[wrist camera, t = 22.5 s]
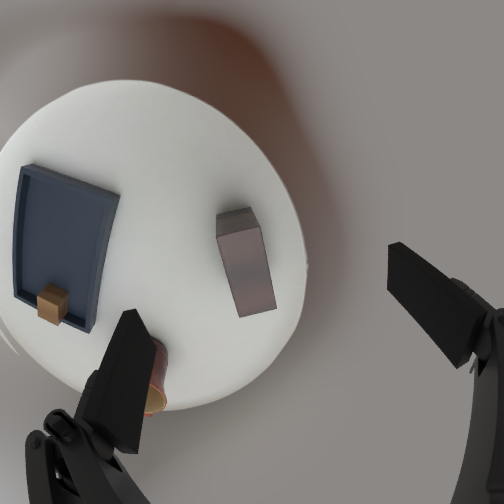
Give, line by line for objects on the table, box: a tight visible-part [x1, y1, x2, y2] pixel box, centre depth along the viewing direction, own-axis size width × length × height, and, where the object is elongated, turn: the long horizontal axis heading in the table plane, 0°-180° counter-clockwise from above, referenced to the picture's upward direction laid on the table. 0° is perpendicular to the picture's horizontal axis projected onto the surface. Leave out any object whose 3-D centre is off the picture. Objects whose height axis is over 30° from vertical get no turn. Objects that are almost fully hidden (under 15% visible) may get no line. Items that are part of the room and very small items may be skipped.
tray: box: [12, 164, 120, 334], centre depth 31 cm, size 22×16×3 cm
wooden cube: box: [37, 283, 69, 326], centre depth 32 cm, size 4×4×4 cm
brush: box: [216, 207, 277, 318], centre depth 32 cm, size 10×4×8 cm, turn 12°
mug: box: [144, 338, 168, 417], centre depth 37 cm, size 12×9×10 cm
